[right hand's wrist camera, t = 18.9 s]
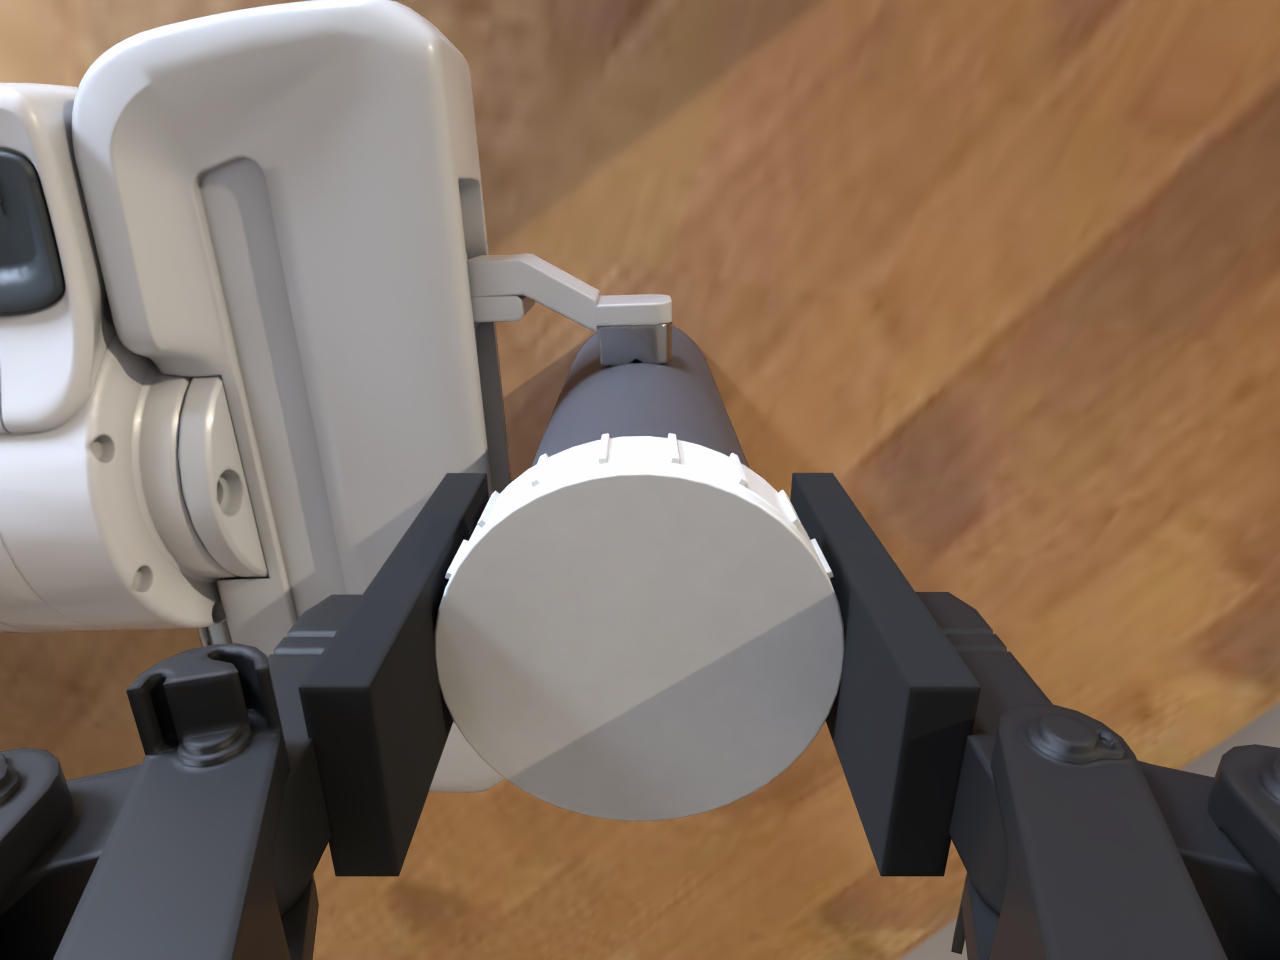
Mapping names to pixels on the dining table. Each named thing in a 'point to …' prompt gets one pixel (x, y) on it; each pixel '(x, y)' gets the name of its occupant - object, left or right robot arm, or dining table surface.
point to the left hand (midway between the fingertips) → (673, 446)
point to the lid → (639, 631)
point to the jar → (641, 402)
